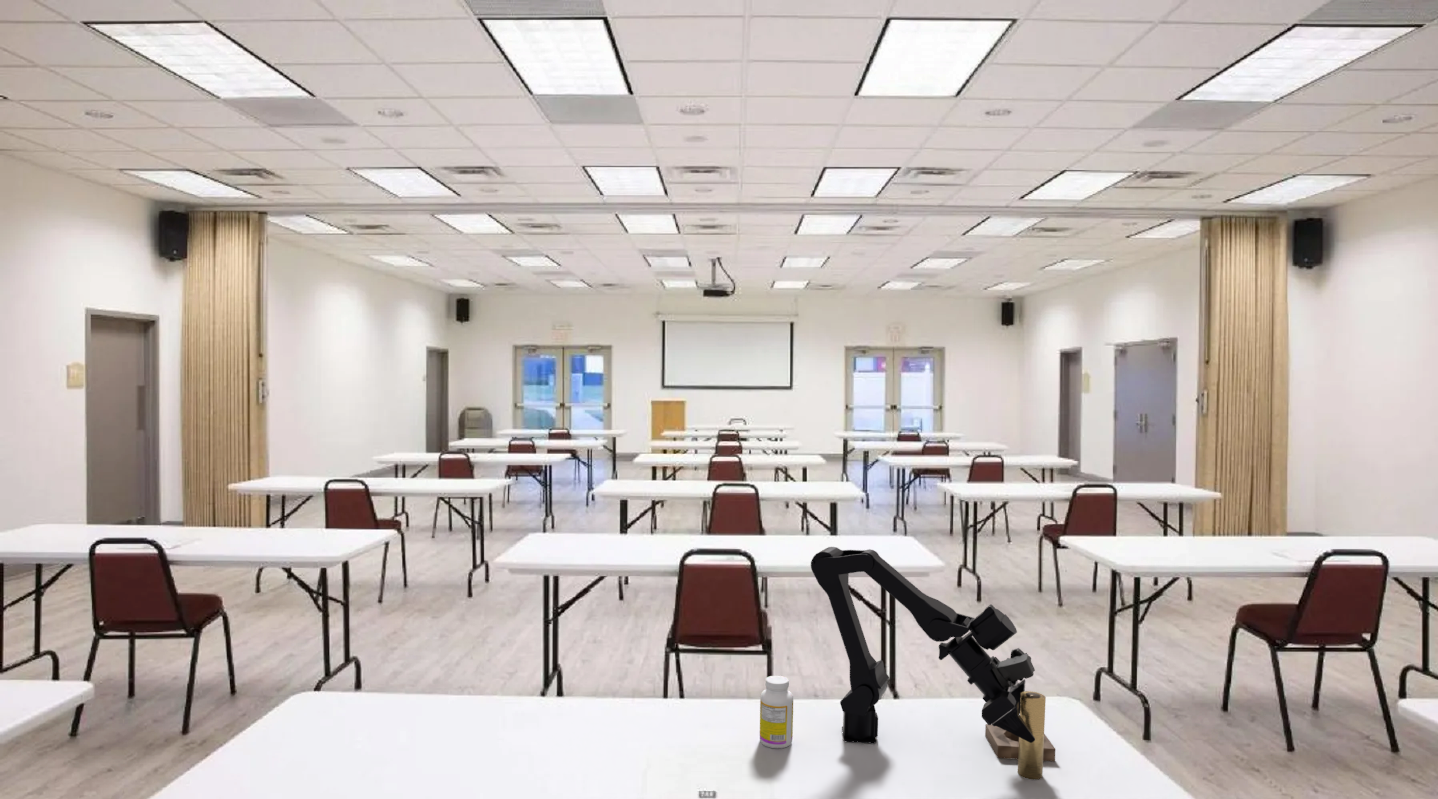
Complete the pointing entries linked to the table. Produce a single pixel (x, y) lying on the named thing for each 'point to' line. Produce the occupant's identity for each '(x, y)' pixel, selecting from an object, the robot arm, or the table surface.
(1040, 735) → the bronze sleeve
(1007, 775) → the table surface
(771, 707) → the supplement bottle
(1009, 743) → the jig plate
